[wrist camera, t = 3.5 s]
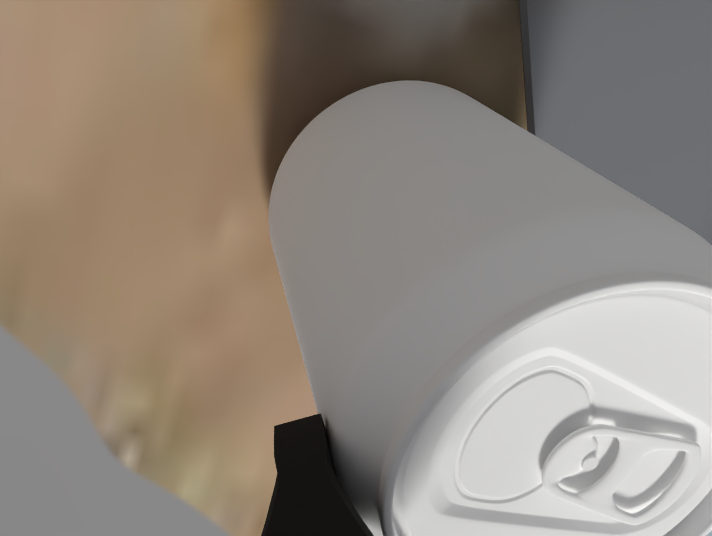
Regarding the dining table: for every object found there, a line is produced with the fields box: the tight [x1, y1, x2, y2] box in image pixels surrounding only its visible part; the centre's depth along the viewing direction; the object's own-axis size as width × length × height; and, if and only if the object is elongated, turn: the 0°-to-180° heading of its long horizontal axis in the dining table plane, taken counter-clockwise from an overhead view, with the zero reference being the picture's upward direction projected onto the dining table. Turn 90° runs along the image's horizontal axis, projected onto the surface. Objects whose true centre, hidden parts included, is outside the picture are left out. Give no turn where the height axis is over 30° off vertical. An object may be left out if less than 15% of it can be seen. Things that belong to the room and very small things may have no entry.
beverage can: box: [269, 80, 712, 536], centre depth 16 cm, size 8×8×12 cm
